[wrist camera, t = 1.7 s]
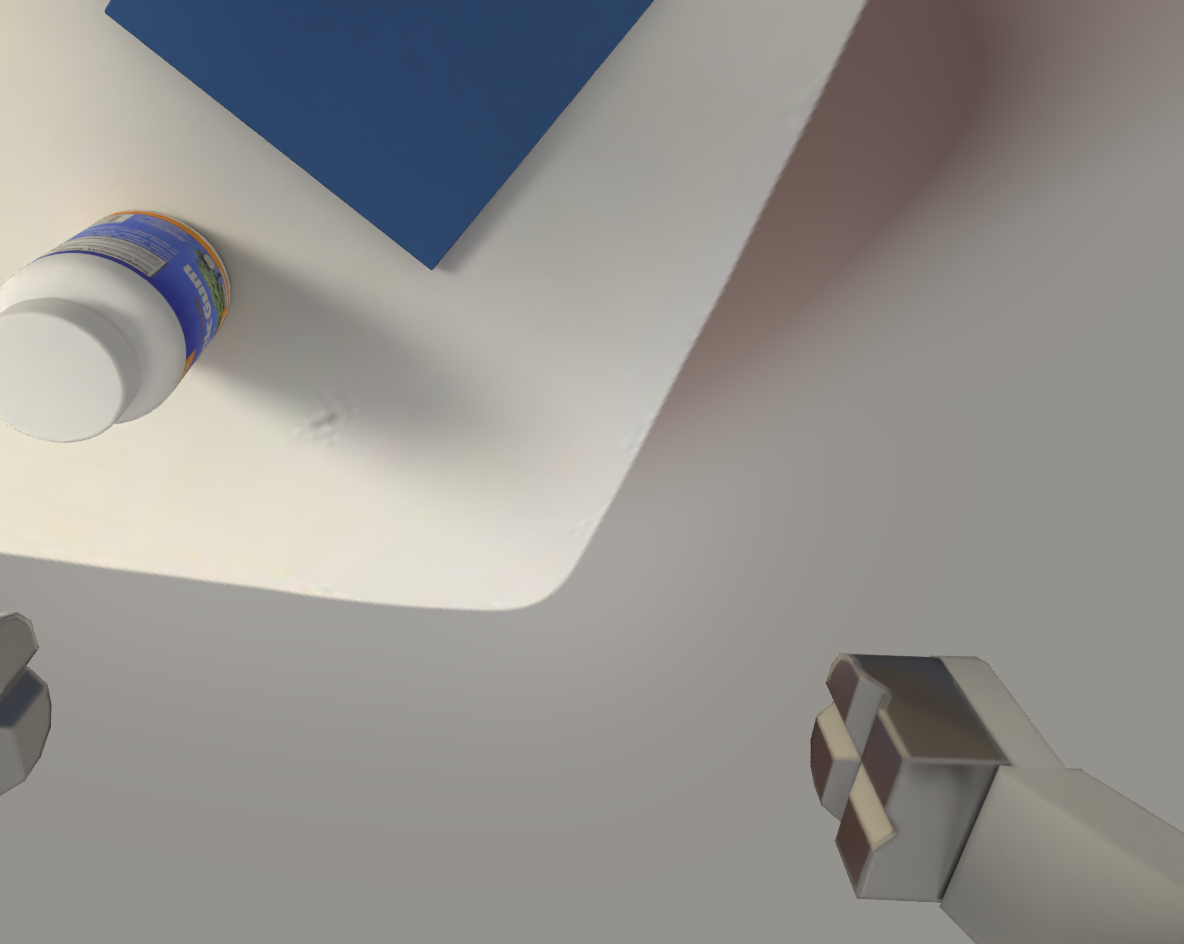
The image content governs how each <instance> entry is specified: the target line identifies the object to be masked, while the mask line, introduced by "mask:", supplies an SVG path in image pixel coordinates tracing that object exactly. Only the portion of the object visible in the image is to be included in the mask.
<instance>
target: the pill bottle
mask: <svg viewBox="0 0 1184 944" xmlns="http://www.w3.org/2000/svg"><path fill="white" fill-rule="evenodd" d="M229 304H230V282H229V278H228V274H227V271H226V269H225V266H224V264H223V262H222V260H221V258H220V257H219V255H218V253H217V252H216V251H215V249H214V248H213V247H212V245H211V244H210V243H209V242H208V241H207V240H206V239H205V238H204V237H203V236H202V235H201V234H199V233H198V232H197V231H196V230H194V229H193V228H191V227H190V226H188V225H187V224H185V223H183V222H181V221H179V220H177V219H175V218H173V217H170V216H168V215H165V214H162V213H158V212H153V211H144V210H133V211H125V212H119V213H115V214H112V215H110V216H107V217H105V218H103V219H102V220H100V221H98V222H96V223H95V224H93V225H91V226H90V227H88V228H87V229H85V230H84V231H82V232H81V233H79V234H77V235H76V236H74V237H72V238H71V239H69V240H68V241H66V242H64V243H63V244H61V245H59V246H58V247H56V248H54V249H53V250H51V251H49V252H48V253H46V254H44V255H43V256H41V257H40V258H38V259H36V260H35V261H33V262H31V263H30V264H28V265H27V266H25V267H24V268H22V269H21V270H19V271H18V272H16V273H15V274H14V275H13V276H11V277H10V278H9V279H8V280H7V281H6V282H5V283H4V285H3V286H2V287H1V288H0V420H2V421H3V422H4V423H6V424H7V425H9V426H11V427H12V428H14V429H16V430H18V431H20V432H22V433H24V434H26V435H29V436H32V437H35V438H38V439H42V440H46V441H52V442H76V441H82V440H86V439H90V438H92V437H95V436H97V435H99V434H101V433H103V432H104V431H106V430H107V429H108V428H110V427H111V426H112V425H113V424H119V423H124V422H128V421H132V420H135V419H138V418H140V417H142V416H144V415H146V414H148V413H150V412H151V411H153V410H154V409H156V408H157V407H158V406H159V405H161V404H162V403H163V402H164V401H165V400H166V399H167V397H168V396H169V395H170V394H171V393H172V392H173V390H174V389H175V388H176V387H177V385H178V384H179V382H180V381H181V380H182V378H183V377H184V376H185V374H186V373H187V372H188V370H189V369H190V368H191V366H192V365H193V364H194V362H195V361H196V359H197V358H198V357H199V355H200V354H201V353H202V351H203V350H204V349H205V347H206V346H207V345H208V343H209V342H210V341H211V339H212V338H213V337H214V335H215V334H216V333H217V331H218V330H219V328H220V327H221V325H222V323H223V321H224V319H225V317H226V315H227V312H228V309H229Z"/></svg>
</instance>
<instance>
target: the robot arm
mask: <svg viewBox="0 0 1184 944" xmlns="http://www.w3.org/2000/svg"><path fill="white" fill-rule="evenodd" d="M38 648H39V647H38V643H37V639H36V636H35V632H34V629H33V625H32V622H31V620H30V619H28V618H26V617H24V616H23V615H21V614H19V613H17V612H3V611H0V795H2V794H4V793H5V792H7V791H9V790H10V789H12V788H14V787H15V786H17V785H19V784H20V783H22V782H24V781H25V779H26V778H27V776H28V775H29V774H30V772H31V771H32V769H33V768H34V766H35V765H36V763H37V762H38V760H39V759H40V757H41V754H42V751H43V748H44V745H45V742H46V740H47V736H48V733H49V731H50V728H51V699H50V695H49V690H48V685H47V683H45V682H44V681H43V680H42V679H41V678H40V677H39V676H38V675H37V674H36V673H35V672H34V671H32V670H31V669H30V668H29V667H28V666H27V664H28V662H29V661H30V659H31V658H32V657H33V655H34V654H35V653H36V651H37V650H38ZM826 684H827V686H828V689H829V691H830V693H831V695H832V698H833V700H834V701H833V702H832V703H831V704H830V705H829V706H827V707H826V708H825V709H824V710H823V711H821V712H820V713H819V714H818V715H817V717H816V721H815V725H814V729H813V733H812V737H811V771H812V776H813V781H814V786H815V789H816V792H817V795H818V797H819V800H820V803H821V805H822V806H823V807H824V808H825V809H826V810H827V811H829V812H830V813H831V814H832V815H833V816H834V817H836V818H837V819H838V820H839V821H840V822H841V823H840V827H839V830H838V833H837V836H836V839H835V842H836V845H837V848H838V851H839V853H840V856H841V858H842V861H843V863H844V866H845V869H846V871H847V874H848V877H849V879H850V882H851V884H852V887H853V890H854V892H855V895H856V897H857V899H877V900H898V901H918V902H919V901H920V902H939V903H941V904H940V908H941V909H942V910H943V911H944V912H945V913H946V914H947V915H948V916H949V917H950V918H951V919H952V920H953V921H954V922H955V923H956V924H957V925H958V926H959V927H960V928H961V929H962V930H963V931H964V932H965V933H966V934H967V935H968V936H969V937H970V938H971V939H972V940H973V941H974V942H975V943H976V944H1184V833H1183V832H1181V831H1180V830H1178V829H1177V828H1175V827H1174V826H1172V825H1170V824H1169V823H1167V822H1165V821H1164V820H1162V819H1161V818H1159V817H1157V816H1156V815H1154V814H1153V813H1151V812H1149V811H1148V810H1146V809H1145V808H1143V807H1141V806H1140V805H1138V804H1137V803H1135V802H1133V801H1132V800H1130V799H1129V798H1127V797H1125V796H1123V795H1122V794H1120V793H1119V792H1117V791H1116V790H1114V789H1112V788H1111V787H1109V786H1108V785H1106V784H1104V783H1103V782H1101V781H1099V780H1098V779H1096V778H1095V777H1093V776H1092V775H1090V774H1088V773H1087V772H1085V771H1084V770H1082V769H1071V768H1065V766H1064V765H1063V763H1062V762H1061V761H1060V759H1059V758H1058V757H1057V755H1056V754H1055V753H1054V751H1053V750H1052V749H1051V747H1050V746H1049V745H1048V743H1047V742H1046V741H1045V739H1044V738H1043V737H1042V735H1041V734H1040V733H1039V731H1038V730H1037V728H1036V727H1035V726H1034V724H1033V723H1032V722H1031V721H1030V719H1029V718H1028V716H1027V715H1026V714H1025V712H1024V711H1023V710H1022V708H1021V707H1020V706H1019V704H1018V703H1017V702H1016V700H1015V699H1014V698H1013V696H1012V695H1011V694H1010V692H1009V691H1008V690H1007V688H1006V687H1005V686H1004V684H1003V683H1002V682H1001V680H1000V679H999V678H998V676H997V675H996V674H995V672H994V671H993V670H992V668H991V667H990V666H989V664H988V663H986V662H985V661H983V660H981V659H980V658H978V657H976V656H930V657H915V656H894V655H893V656H891V655H870V654H847V653H839V654H838V656H837V657H836V659H835V660H834V662H833V663H832V665H831V668H830V672H829V675H828V678H827V681H826Z"/></svg>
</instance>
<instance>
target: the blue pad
mask: <svg viewBox="0 0 1184 944" xmlns="http://www.w3.org/2000/svg"><path fill="white" fill-rule="evenodd" d="M653 1H654V0H111V1H110V2H109V4H108V6H107V7H106V9H105V13H106V14H107V15H108V16H110V17H111V18H112V19H113V20H115V21H116V22H117V23H118V24H120V25H121V26H122V27H123V28H125V29H126V30H127V31H129V32H130V33H131V34H132V35H134V36H135V37H136V38H137V39H139V40H140V41H141V42H142V43H144V44H145V45H146V46H148V47H149V48H150V49H151V50H153V51H154V52H155V53H156V54H158V55H159V56H160V57H162V58H163V59H164V60H165V61H167V62H168V63H169V64H170V65H172V66H173V67H174V68H175V69H177V70H178V71H179V72H181V73H182V74H183V75H184V76H186V77H187V78H188V79H189V80H191V81H192V82H193V83H194V84H196V85H197V86H198V87H200V88H201V89H202V90H203V91H205V92H206V93H207V94H208V95H210V96H211V97H212V98H213V99H215V100H216V101H217V102H219V103H220V104H221V105H222V106H224V107H225V108H226V109H227V110H229V111H230V112H231V113H233V114H234V115H235V116H236V117H238V118H239V119H240V120H241V121H243V122H244V123H245V124H246V125H248V126H249V127H250V128H252V129H253V130H254V131H255V132H257V133H258V134H259V135H260V136H262V137H263V138H264V139H265V140H267V141H268V142H269V143H271V144H272V145H273V146H274V147H276V148H277V149H278V150H279V151H281V152H282V153H283V154H285V155H286V156H287V157H288V158H290V159H291V160H292V161H293V162H295V163H296V164H297V165H298V166H300V167H301V168H302V169H304V170H305V171H306V172H307V173H309V174H310V175H311V176H312V177H314V178H315V179H316V180H317V181H319V182H320V183H321V184H323V185H324V186H325V187H326V188H328V189H329V190H330V191H331V192H333V193H334V194H335V195H337V196H338V197H339V198H340V199H342V200H343V201H344V202H345V203H347V204H348V205H349V206H350V207H352V208H353V209H354V210H356V211H357V212H358V213H359V214H361V215H362V216H363V217H364V218H366V219H367V220H368V221H369V222H371V223H372V224H373V225H375V226H376V227H377V228H378V229H380V230H381V231H382V232H383V233H385V234H386V235H387V236H389V237H390V238H391V239H392V240H394V241H395V242H396V243H397V244H399V245H400V246H401V247H402V248H404V249H405V250H406V251H408V252H409V253H410V254H411V255H413V256H414V257H415V258H416V259H418V260H419V261H420V262H421V263H423V264H424V265H425V266H427V267H428V268H429V269H430V270H433V269H434V268H435V266H436V265H437V264H438V263H439V261H440V260H441V259H442V258H443V257H444V255H445V254H446V253H447V252H448V250H449V249H450V248H451V247H452V246H453V244H454V243H455V242H456V241H457V239H458V238H459V237H460V236H461V235H462V233H463V232H464V231H465V230H466V229H467V227H468V226H469V225H470V224H471V222H472V221H473V220H474V219H475V218H476V216H477V215H478V214H479V213H480V211H481V210H482V209H483V208H484V207H485V205H486V204H487V203H488V202H489V201H490V199H491V198H492V197H493V196H494V194H495V193H496V192H497V191H498V190H499V188H500V187H501V186H502V185H503V183H504V182H505V181H506V180H507V179H508V177H509V176H510V175H511V174H512V173H513V171H514V170H515V169H516V168H517V166H518V165H519V164H520V163H521V162H522V160H523V159H524V158H525V157H526V155H527V154H528V153H529V152H530V151H531V149H532V148H533V147H534V146H535V145H536V143H537V142H538V141H539V140H540V138H541V137H542V136H543V135H544V134H545V132H546V131H547V130H548V129H549V127H550V126H551V125H552V124H553V123H554V121H555V120H556V119H557V118H558V117H559V115H560V114H561V113H562V112H563V110H564V109H565V108H566V107H567V106H568V104H569V103H570V102H571V101H572V99H573V98H574V97H575V96H576V95H577V93H578V92H579V91H580V90H581V88H582V87H583V86H584V85H585V84H586V82H587V81H588V80H589V79H590V78H591V76H592V75H593V74H594V73H595V71H596V70H597V69H598V68H599V67H600V65H601V64H602V63H603V62H604V60H605V59H606V58H607V57H608V56H609V54H610V53H611V52H612V51H613V50H614V48H615V47H616V46H617V45H618V43H619V42H620V41H621V40H622V39H623V37H624V36H625V35H626V34H627V32H628V31H629V30H630V29H631V28H632V26H633V25H634V24H635V23H636V22H637V20H638V19H639V18H640V17H641V15H642V14H643V13H644V12H645V11H646V9H647V8H648V7H649V6H650V4H651V3H652V2H653Z"/></svg>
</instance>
